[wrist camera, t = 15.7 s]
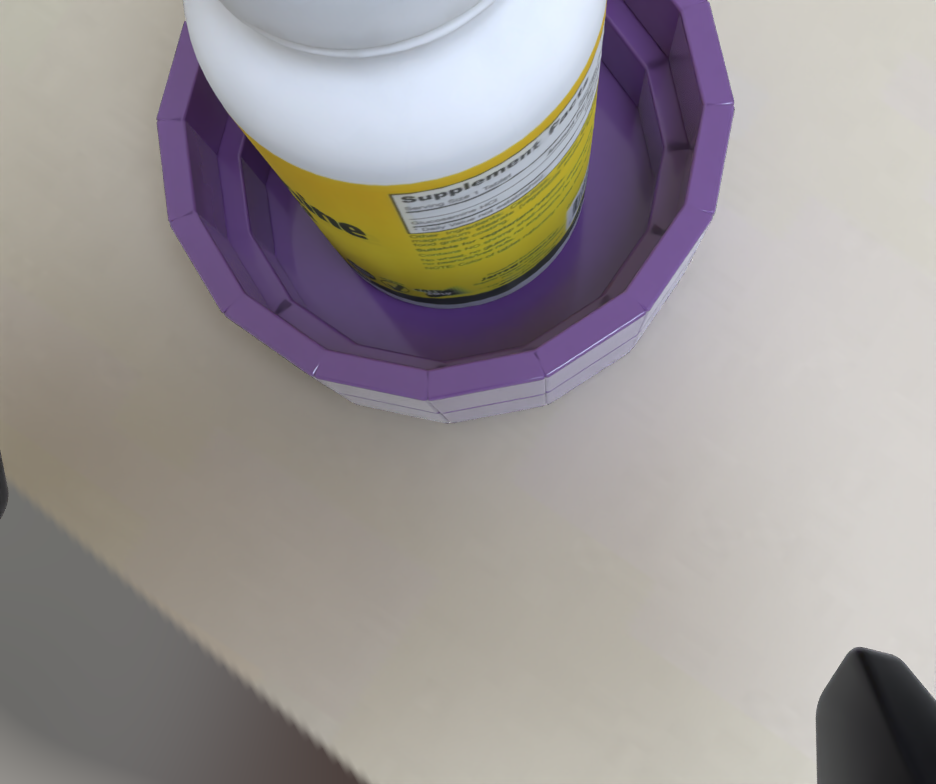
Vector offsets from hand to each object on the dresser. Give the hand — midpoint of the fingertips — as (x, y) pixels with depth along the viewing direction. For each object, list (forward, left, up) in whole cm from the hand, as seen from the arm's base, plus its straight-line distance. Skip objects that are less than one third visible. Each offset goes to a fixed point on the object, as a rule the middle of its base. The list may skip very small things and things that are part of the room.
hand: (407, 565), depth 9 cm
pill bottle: (+4, +7, -10) cm, 13 cm away
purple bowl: (+4, +7, -11) cm, 13 cm away
